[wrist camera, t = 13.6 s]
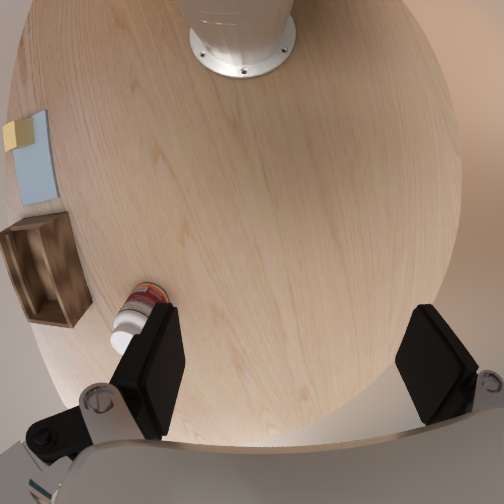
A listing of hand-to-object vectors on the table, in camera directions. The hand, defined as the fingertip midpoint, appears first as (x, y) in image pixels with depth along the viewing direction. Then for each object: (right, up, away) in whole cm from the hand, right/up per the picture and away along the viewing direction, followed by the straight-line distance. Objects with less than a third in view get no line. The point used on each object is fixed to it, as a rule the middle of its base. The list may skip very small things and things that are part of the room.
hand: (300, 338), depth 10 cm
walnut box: (-35, +2, +30) cm, 46 cm away
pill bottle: (-17, -4, +32) cm, 37 cm away
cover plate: (-36, +18, +23) cm, 46 cm away
